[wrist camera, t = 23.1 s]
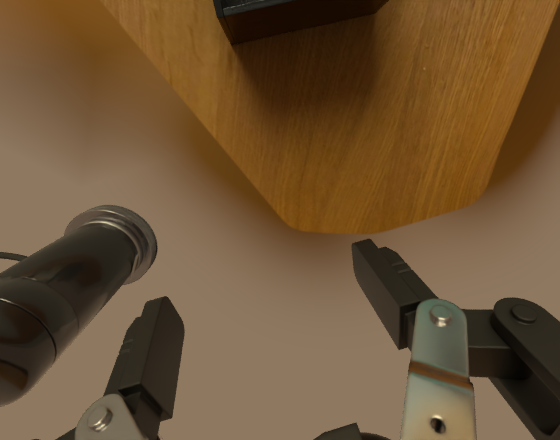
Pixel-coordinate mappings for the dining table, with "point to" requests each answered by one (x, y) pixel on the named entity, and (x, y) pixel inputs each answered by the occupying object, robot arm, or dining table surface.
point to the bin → (285, 15)
